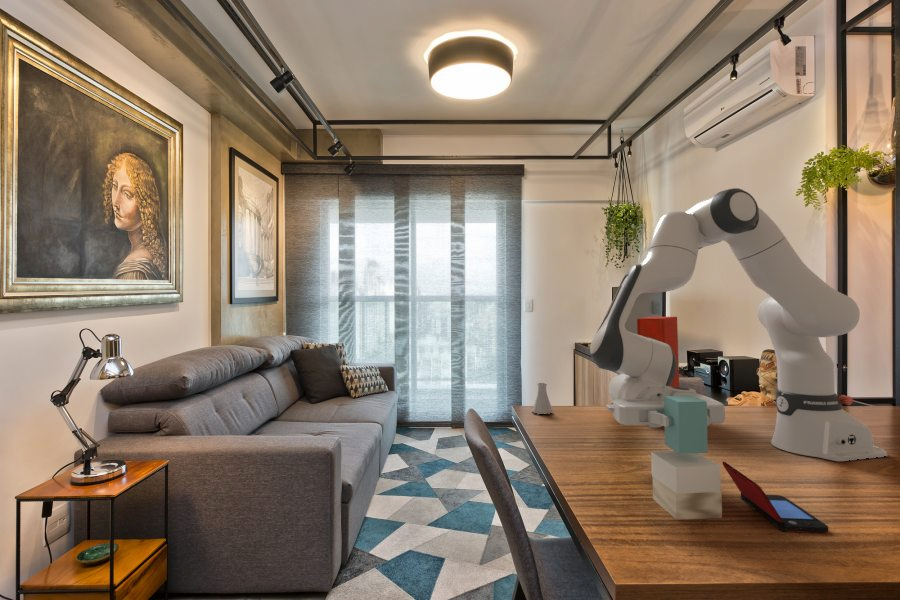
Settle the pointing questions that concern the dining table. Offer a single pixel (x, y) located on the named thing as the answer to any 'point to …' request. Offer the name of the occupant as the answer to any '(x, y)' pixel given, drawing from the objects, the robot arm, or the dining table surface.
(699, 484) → the tower top
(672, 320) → the file binder
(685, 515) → the tower base
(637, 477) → the dining table surface
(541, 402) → the flask
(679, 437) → the teal pillar
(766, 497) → the handheld game console
